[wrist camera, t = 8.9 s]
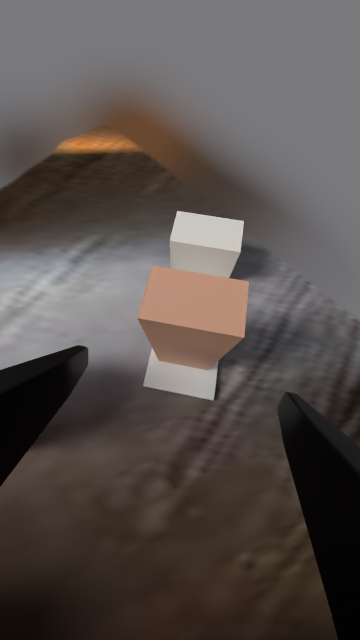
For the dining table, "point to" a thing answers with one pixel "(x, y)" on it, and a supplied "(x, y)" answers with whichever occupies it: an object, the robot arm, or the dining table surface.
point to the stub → (193, 316)
